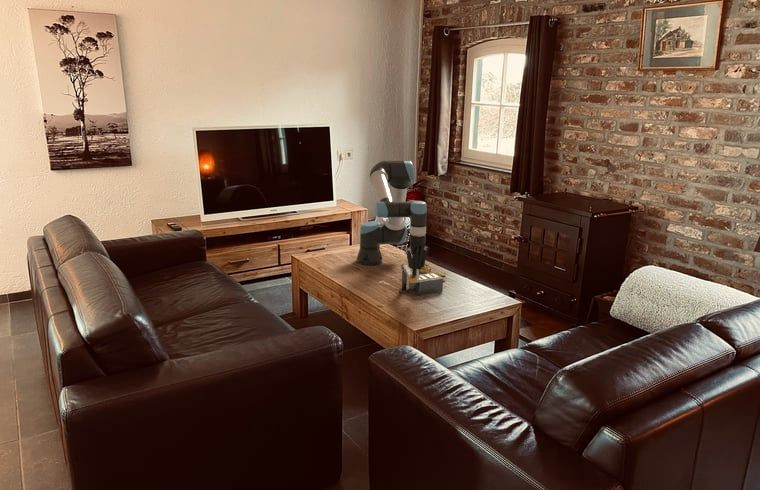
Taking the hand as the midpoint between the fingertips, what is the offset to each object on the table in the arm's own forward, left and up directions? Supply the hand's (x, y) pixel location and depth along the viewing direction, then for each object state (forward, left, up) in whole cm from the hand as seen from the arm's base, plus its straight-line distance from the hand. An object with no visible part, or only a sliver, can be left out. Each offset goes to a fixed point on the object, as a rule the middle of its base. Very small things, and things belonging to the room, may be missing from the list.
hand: (416, 281), depth 281 cm
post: (-13, +1, -9) cm, 16 cm away
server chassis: (-10, +12, -9) cm, 18 cm away
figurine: (-25, +26, -10) cm, 37 cm away
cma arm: (-4, -2, +2) cm, 5 cm away
